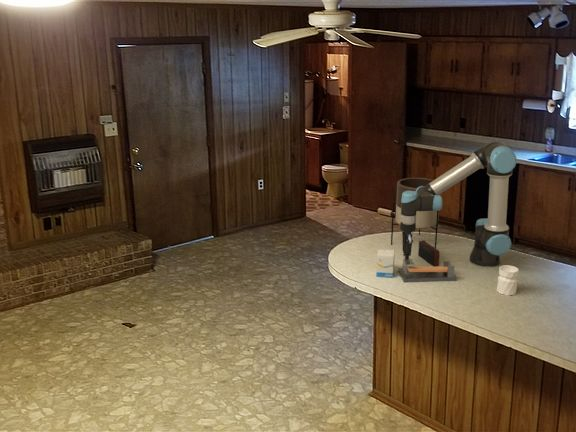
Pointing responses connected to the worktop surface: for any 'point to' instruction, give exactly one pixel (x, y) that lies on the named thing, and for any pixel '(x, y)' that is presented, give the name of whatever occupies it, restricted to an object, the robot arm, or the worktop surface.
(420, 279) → the base
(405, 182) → the planter
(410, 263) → the keeper
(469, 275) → the worktop surface
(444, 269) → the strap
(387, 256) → the ink box
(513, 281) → the vase
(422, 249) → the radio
